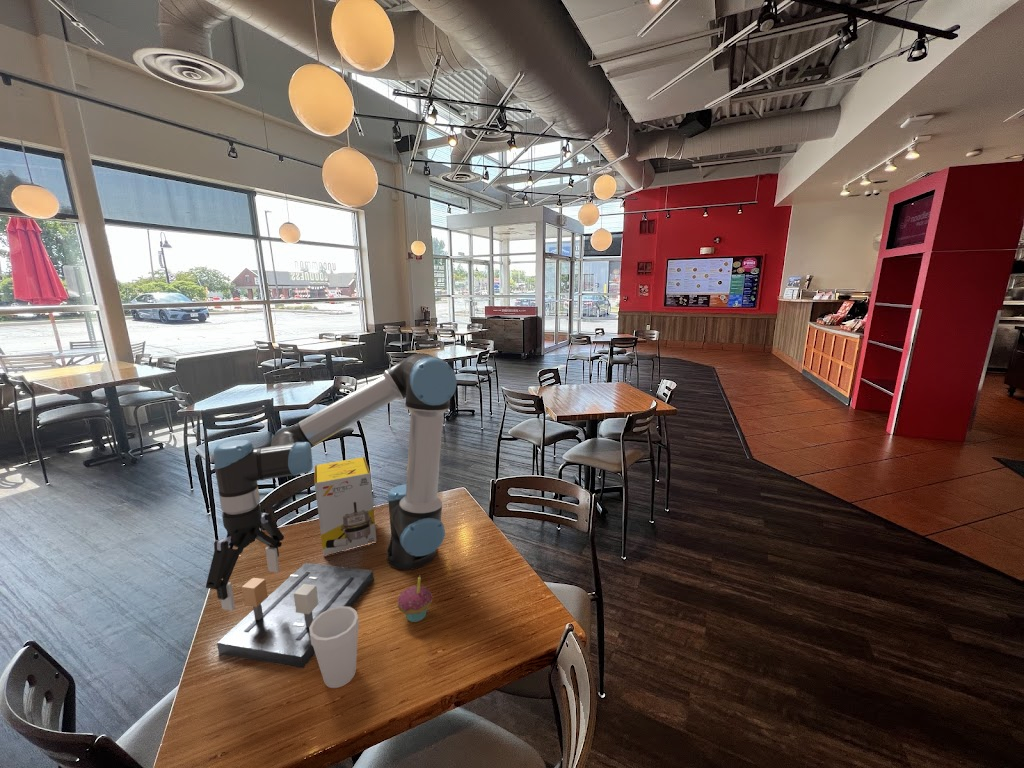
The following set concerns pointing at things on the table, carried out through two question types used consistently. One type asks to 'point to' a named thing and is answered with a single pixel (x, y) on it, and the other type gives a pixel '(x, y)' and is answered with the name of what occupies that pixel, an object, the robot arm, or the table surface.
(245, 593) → the fader orange
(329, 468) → the packaging box
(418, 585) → the cupcake
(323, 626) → the foam cup
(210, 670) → the table surface
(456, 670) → the table surface
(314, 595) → the fader cream
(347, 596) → the fader console
